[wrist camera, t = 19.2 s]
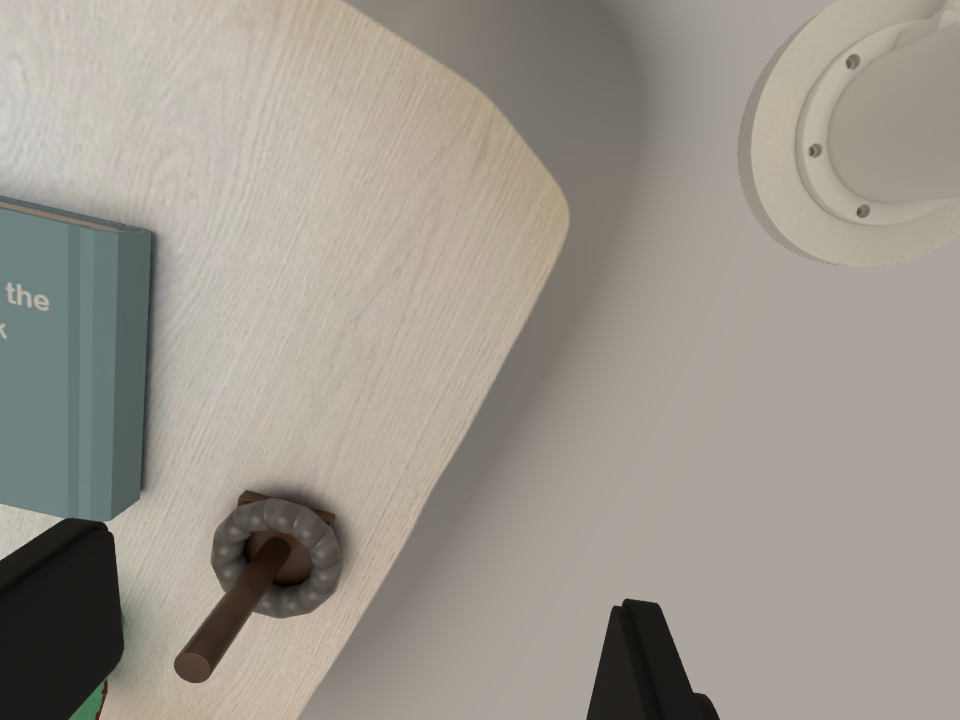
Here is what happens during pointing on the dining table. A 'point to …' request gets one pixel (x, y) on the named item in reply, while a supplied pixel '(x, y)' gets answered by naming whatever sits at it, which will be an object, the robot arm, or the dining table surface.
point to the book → (71, 361)
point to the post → (245, 594)
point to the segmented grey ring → (303, 529)
